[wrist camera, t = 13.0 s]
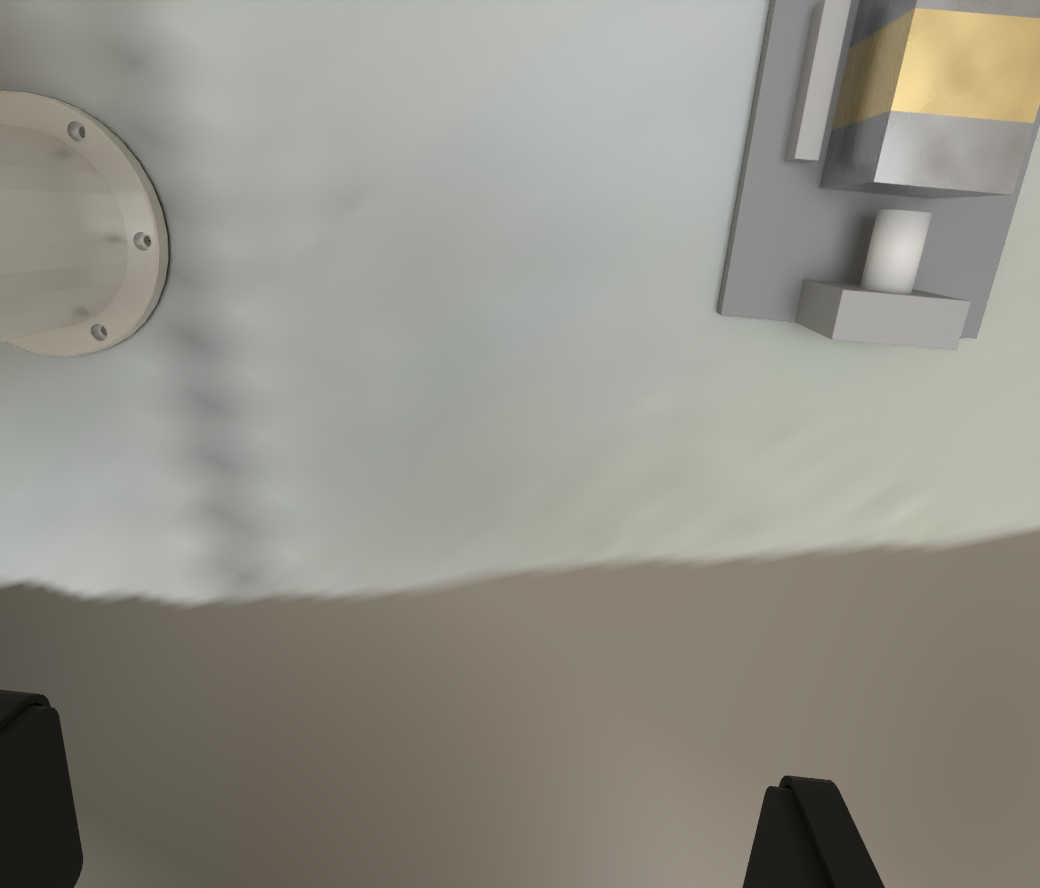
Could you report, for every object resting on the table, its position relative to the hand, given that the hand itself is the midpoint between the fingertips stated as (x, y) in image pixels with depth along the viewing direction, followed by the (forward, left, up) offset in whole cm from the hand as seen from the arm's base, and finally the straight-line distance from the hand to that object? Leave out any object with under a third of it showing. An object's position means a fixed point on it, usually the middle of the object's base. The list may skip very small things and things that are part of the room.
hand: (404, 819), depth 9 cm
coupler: (+15, +14, -27) cm, 34 cm away
